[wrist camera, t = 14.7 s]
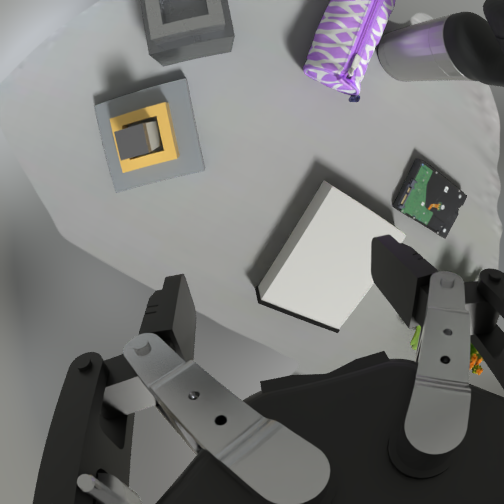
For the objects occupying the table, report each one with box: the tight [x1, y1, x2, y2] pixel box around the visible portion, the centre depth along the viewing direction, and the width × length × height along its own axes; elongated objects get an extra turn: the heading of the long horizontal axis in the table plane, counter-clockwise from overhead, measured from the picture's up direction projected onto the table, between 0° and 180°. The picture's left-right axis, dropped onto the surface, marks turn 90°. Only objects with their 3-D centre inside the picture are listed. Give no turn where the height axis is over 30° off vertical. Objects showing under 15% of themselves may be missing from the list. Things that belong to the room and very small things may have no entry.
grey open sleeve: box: [141, 0, 235, 66], centre depth 30 cm, size 10×10×13 cm
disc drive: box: [255, 181, 406, 333], centre depth 52 cm, size 18×22×5 cm
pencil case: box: [303, 0, 395, 102], centre depth 33 cm, size 22×9×10 cm, turn 160°
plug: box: [114, 121, 162, 160], centre depth 36 cm, size 4×4×9 cm
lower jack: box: [94, 78, 205, 193], centre depth 40 cm, size 14×14×5 cm
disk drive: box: [393, 159, 467, 238], centre depth 51 cm, size 10×3×15 cm
